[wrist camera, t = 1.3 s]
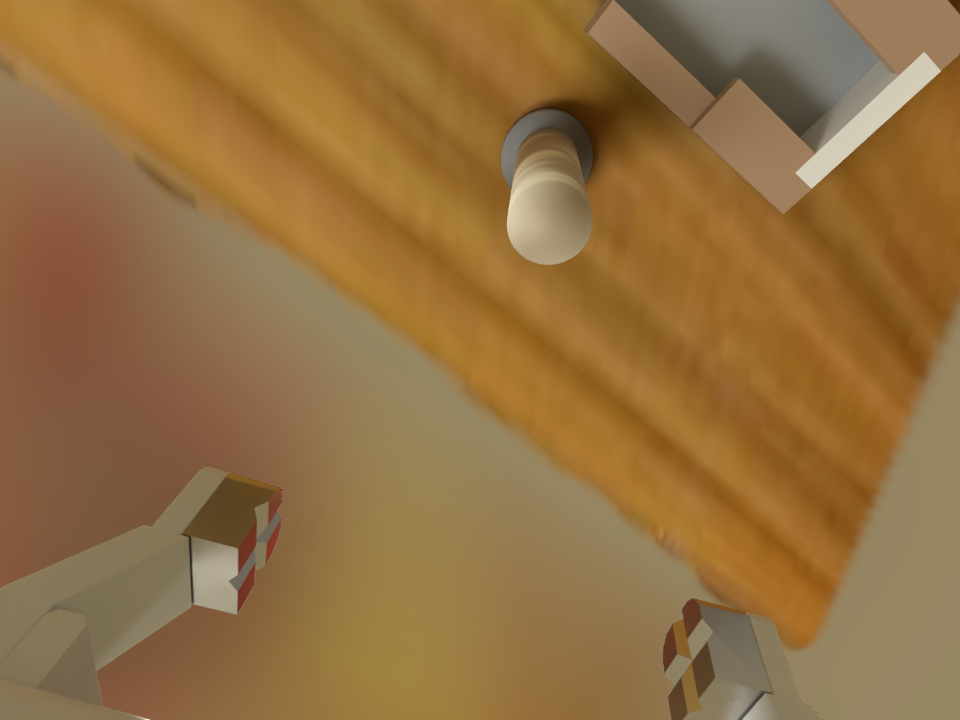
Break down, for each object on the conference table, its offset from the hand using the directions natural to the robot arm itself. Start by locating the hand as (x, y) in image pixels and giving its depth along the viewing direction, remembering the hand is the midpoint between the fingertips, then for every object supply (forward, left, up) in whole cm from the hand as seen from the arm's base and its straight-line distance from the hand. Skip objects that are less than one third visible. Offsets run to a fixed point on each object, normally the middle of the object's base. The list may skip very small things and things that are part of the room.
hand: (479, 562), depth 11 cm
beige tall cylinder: (+1, +1, -33) cm, 33 cm away
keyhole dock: (+6, +14, -33) cm, 37 cm away
